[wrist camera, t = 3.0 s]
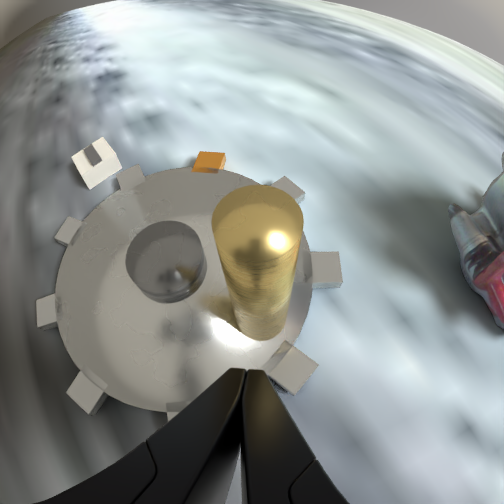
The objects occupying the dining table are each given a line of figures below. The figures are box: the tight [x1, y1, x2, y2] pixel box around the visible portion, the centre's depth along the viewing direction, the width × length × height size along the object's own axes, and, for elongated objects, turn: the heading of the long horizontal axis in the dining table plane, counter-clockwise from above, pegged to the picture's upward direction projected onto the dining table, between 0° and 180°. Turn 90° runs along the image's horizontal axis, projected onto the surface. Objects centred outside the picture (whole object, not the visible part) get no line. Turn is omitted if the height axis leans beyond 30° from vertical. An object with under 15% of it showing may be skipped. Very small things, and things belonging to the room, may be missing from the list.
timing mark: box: [72, 137, 122, 189], centre depth 22 cm, size 3×3×2 cm
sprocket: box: [36, 151, 343, 421], centre depth 14 cm, size 18×18×9 cm
